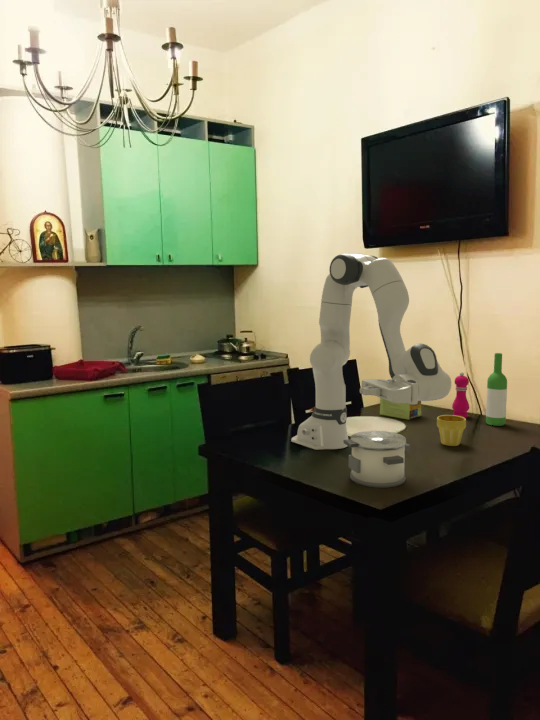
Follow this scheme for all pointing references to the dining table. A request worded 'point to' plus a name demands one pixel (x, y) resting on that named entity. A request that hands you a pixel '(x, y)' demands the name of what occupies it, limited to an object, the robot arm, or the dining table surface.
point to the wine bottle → (496, 394)
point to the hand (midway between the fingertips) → (361, 391)
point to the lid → (376, 440)
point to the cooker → (378, 467)
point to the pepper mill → (461, 396)
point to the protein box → (400, 409)
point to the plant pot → (451, 429)
